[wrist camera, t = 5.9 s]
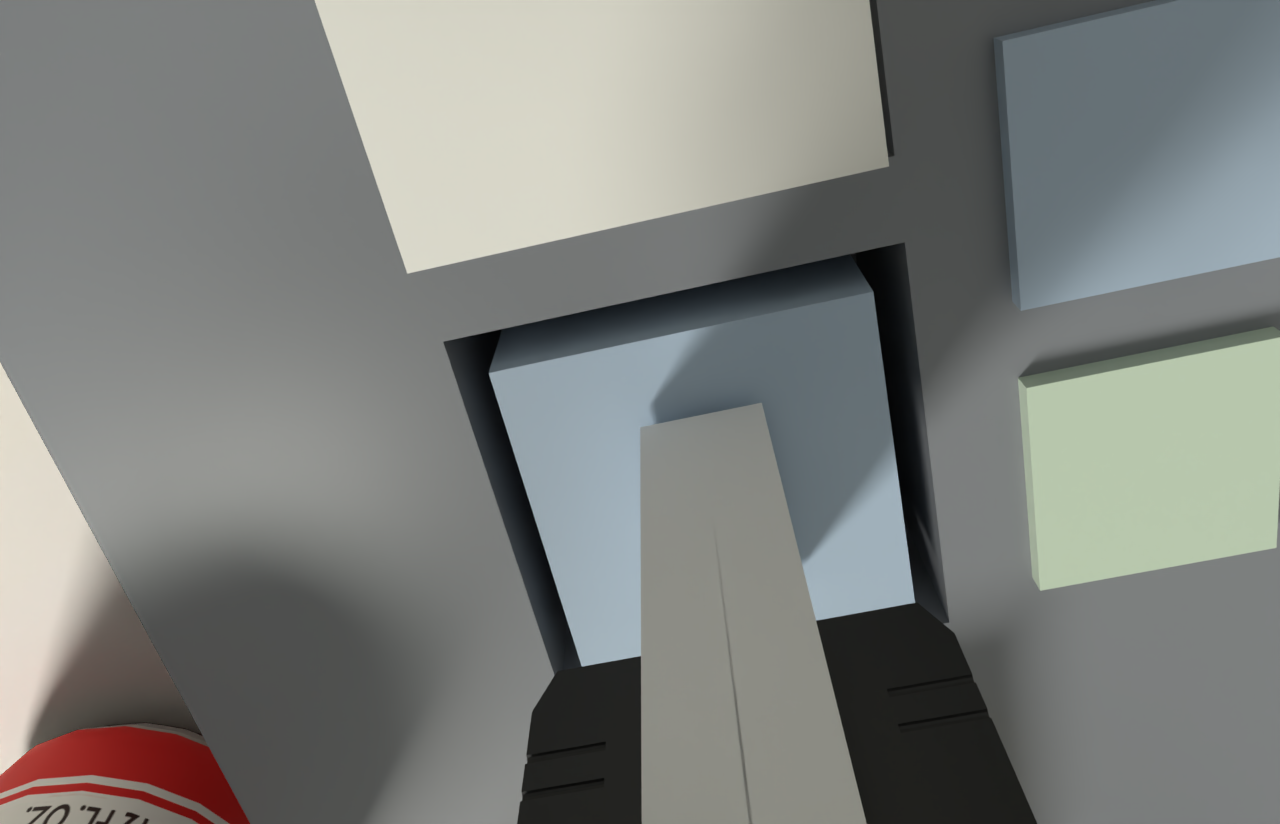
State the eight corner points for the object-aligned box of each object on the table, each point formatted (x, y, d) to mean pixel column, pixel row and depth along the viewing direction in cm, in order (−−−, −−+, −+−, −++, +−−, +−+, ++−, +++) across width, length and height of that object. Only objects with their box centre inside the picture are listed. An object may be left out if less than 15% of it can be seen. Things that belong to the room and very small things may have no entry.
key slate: (589, 569, 16) (582, 670, 14) (510, 303, 14) (488, 372, 12) (877, 514, 16) (915, 608, 14) (836, 232, 14) (873, 292, 12)
